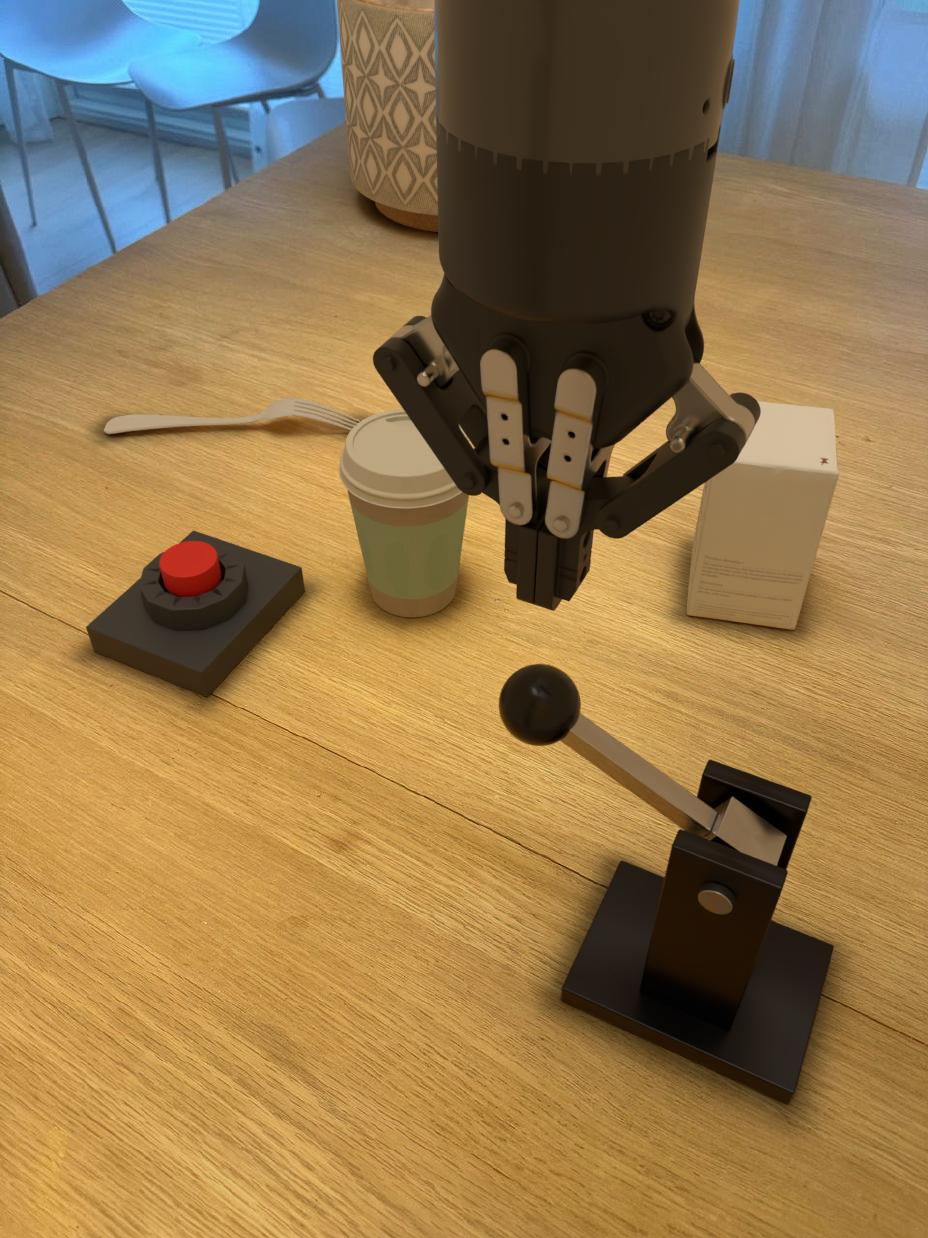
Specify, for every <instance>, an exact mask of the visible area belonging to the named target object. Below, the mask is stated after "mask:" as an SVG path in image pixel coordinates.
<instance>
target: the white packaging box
mask: <svg viewBox="0 0 928 1238" xmlns="http://www.w3.org/2000/svg"><path fill="white" fill-rule="evenodd" d="M757 402H758V403H759V406H760V409H761V413H760V417H759V419H758V421H757V423H756V425H755V427H754V429H753V431H752V433H751V435H750V437H749V439H748V440H747V442H746V444H745V446H744V447H743V449H742V451H741V452H740V454H739V456H738V458H737V460H736V461H735V462H734V463H733V464H732V465H730V466H729V467H727V468H726V469H724V470H723V471H721V472H720V473H718V474H717V475H715V476H714V477H712V478H711V479H709V480H708V481H706V482H705V483H704V484H703V489H702V494H701V498H700V504H699V509H698V514H697V519H696V525H695V530H694V534H693V541H692V548H691V549H692V550H691V560H690V567H689V576H688V577H689V578H688V585H687V586H688V588H687V599H686V615H687V616H691V617H692V616H693V617H699V618H707V619H715V620H722V621H727V622H737V623H744V624H750V625H757V626H764V627H770V628H777V629H783V630H795V629H796V627H797V625H798V621H799V618H800V613H801V610H802V606H803V603H804V600H805V596H806V592H807V588H808V585H809V582H810V578H811V575H812V572H813V567H814V564H815V561H816V557H817V554H818V550H819V547H820V543H821V540H822V536H823V532H824V529H825V526H826V522H827V519H828V516H829V511H830V508H831V506H832V505H831V504H832V501H833V498H834V495H835V491H836V487H837V483H838V480H839V477H840V471H839V470H840V469H839V461H838V460H839V459H838V449H837V438H836V423H835V422H836V421H835V410H834V409H833V408H828V407H817V406H809V405H808V406H807V405H798V404H790V403H789V404H788V403H779V402H768V401H760V400H757Z"/></svg>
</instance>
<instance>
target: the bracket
mask: <svg viewBox="0 0 928 1238" xmlns="http://www.w3.org/2000/svg"><path fill="white" fill-rule="evenodd" d="M696 797H698V798H699V799H700V800H702V801H703V802H705V803H706V804H707V805H709V806H710V807H711V808H713V809H715V808H716V807H718V806H719V805H721V804H722V803H723V802H725V801H726V800H728V799H729V798H730V797H734V798H736V799H737V800H738V801H740V802H741V803H742V804H744V805H745V806H747V807H748V808H749V809H751V810H752V811H754V812H755V813H756V814H758V815H759V816H760V817H762V818H763V819H765V820H766V821H767V822H769V823H770V824H772V825H773V826H774V827H776V828H777V829H779V830H780V831H781V832H783V833H784V834H785V835H787V837H786V840H785V843H784V846H783V849H782V852H781V855H780V858H779V861H778V864H777V866H776V865H773V864H771V863H768V862H765V861H763V860H760V859H757V858H755V857H752V856H750V855H747V854H744V853H742V852H739V851H737V850H734V849H731V848H729V847H726V846H724V845H721V844H718V843H716V842H713V841H711V840H708V839H705V838H703V837H700V836H698V835H695V834H692V833H690V832H687V831H685V830H683V829H682V828H679V829H678V830H677V832H676V835H675V837H674V839H673V841H672V845H671V848H670V852H669V857H668V860H667V865H666V870H665V874H664V876H662V875H660V874H657V873H655V872H652V871H650V870H648V869H645V868H642V867H640V866H637V865H635V864H633V863H630V862H628V861H626V860H623V859H621V860H620V861H619V862H618V865H617V867H616V869H615V871H614V873H613V876H612V877H611V879H610V882H609V885H608V887H607V889H606V890H605V893H604V895H603V897H602V899H601V901H600V904H599V906H598V908H597V910H596V912H595V915H594V917H593V919H592V921H591V923H590V926H589V928H588V929H587V931H586V934H585V936H584V939H583V941H582V943H581V945H580V947H579V949H578V952H577V954H576V956H575V957H574V960H573V962H572V965H571V966H570V969H569V971H568V973H567V975H566V978H565V979H564V981H563V984H562V986H561V990H560V991H561V992H560V1001H561V1002H564V1003H566V1004H568V1005H570V1006H572V1007H574V1008H576V1009H578V1010H581V1011H582V1012H585V1013H587V1014H589V1015H592V1016H594V1017H596V1018H598V1019H600V1020H602V1021H605V1022H607V1023H609V1024H611V1025H612V1026H613V1025H614V1026H616V1027H618V1028H619V1029H622V1030H624V1031H627V1032H629V1033H631V1034H633V1035H636V1036H638V1037H640V1038H642V1039H644V1040H646V1041H649V1042H650V1043H652V1044H655V1045H657V1046H660V1047H662V1048H664V1049H666V1050H668V1051H670V1052H673V1053H675V1054H677V1055H679V1056H681V1057H683V1058H686V1059H688V1060H690V1061H692V1062H694V1063H696V1064H699V1065H701V1066H704V1067H705V1068H708V1069H710V1070H712V1071H714V1072H716V1073H719V1074H721V1075H722V1076H725V1077H727V1078H730V1079H732V1080H734V1081H735V1082H738V1083H740V1084H743V1085H745V1086H747V1087H749V1088H751V1089H753V1090H755V1091H758V1092H760V1093H761V1094H764V1095H766V1096H769V1097H771V1098H773V1099H775V1100H777V1101H780V1102H782V1103H783V1104H786V1105H790V1104H791V1102H792V1100H793V1098H794V1096H795V1095H796V1090H797V1087H798V1083H799V1080H800V1077H801V1073H802V1068H803V1064H804V1061H805V1057H806V1053H807V1050H808V1046H809V1042H810V1039H811V1035H812V1031H813V1027H814V1023H815V1019H816V1016H817V1012H818V1008H819V1006H820V1005H819V1004H820V1001H821V997H822V993H823V990H824V986H825V983H826V980H827V979H826V978H827V974H828V972H829V968H830V965H831V959H832V957H833V952H834V948H835V945H833V944H831V943H829V942H827V941H825V940H821V939H819V938H816V937H814V936H811V935H809V934H807V933H805V932H802V931H800V930H797V929H794V928H792V927H790V926H787V925H784V924H782V923H779V922H777V921H774V920H772V919H773V916H774V914H775V912H776V908H777V905H778V903H779V900H780V897H781V895H782V892H783V889H784V886H785V884H786V880H787V877H788V873H789V871H788V870H787V869H788V868H789V867H788V866H789V864H790V861H791V858H792V856H793V853H794V851H795V847H796V845H797V842H798V838H799V836H800V833H801V831H802V828H803V826H804V824H805V820H806V817H807V815H808V812H809V808H810V805H811V802H812V799H813V797H812V795H811V794H808V793H805V792H803V791H800V790H797V789H794V788H791V787H788V786H786V785H783V784H780V783H777V782H775V781H772V780H769V779H767V778H764V777H761V776H758V775H755V774H753V773H750V772H747V771H745V770H741V769H738V768H735V767H733V766H730V765H727V764H724V763H722V762H719V761H716V760H714V759H708V760H707V762H706V764H705V766H704V769H703V772H702V774H701V778H700V781H699V786H698V790H697V793H696Z"/></svg>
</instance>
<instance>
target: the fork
mask: <svg viewBox="0 0 928 1238" xmlns="http://www.w3.org/2000/svg"><path fill="white" fill-rule="evenodd" d="M283 417H298V418H304V419H311V420H314V421H317V422H320V423H321V422H322V423H325V424H328V425H332V426H335V427H338V428H342V429H345V430H348V431H349V432H350V431H351V430H352V428H353V427H354V426H355V425H357V424H358V423H359V422H361V420H360V419H358V418H356V417H354V416H351V415H349V414H347V413H345V412H343V411H341V410H338V409H335V408H333V407H330V406H327V405H324V404H321V403H319V402H316V401H313V400H308V399H304V398H300V397H295V396H294V397H284V398H281V399H277V400H274V401H273V402H271V403H270V404H269V405H268V406H267V407H266V408H265V409H263V410H262V411H261V412H258V413H256V414H252V415H249V416H248V415H247V416H239V417H238V416H237V417H235V416H234V417H201V416H184V415H183V416H182V415H165V414H134V413H132V414H127V415H126V414H125V415H120V416H115V417H113V418H110V420H108V421H107V422H106V424H105V426H104V429H103V432H104V433H105V434H107V435H115V434H122V433H129V432H138V431H139V432H140V431H149V430H159V429H160V430H161V429H171V428H186V427H202V426H203V427H204V426H229V425H232V426H233V425H242V424H250V423H253V422H258V421H260V420H266V421H269V420H270V421H271V420H274V419H278V418H283Z"/></svg>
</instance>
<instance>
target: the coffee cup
mask: <svg viewBox="0 0 928 1238" xmlns="http://www.w3.org/2000/svg"><path fill="white" fill-rule="evenodd" d="M357 423H358V424H357V425H355V424H354V427H351V428H352V430H351V431H350V430H349V432H348V434H347V436H346V438H345V442H344V447H343V448H342V451H341V453H340V456H339V465H338V476H339V480H340V481H341V483H342V485H343V487H344V488H345V489H346V490H347V495H348V500H349V504H350V507H351V508H350V509H351V513H352V517H353V521H354V525H355V530H356V534H357V538H358V543H359V547H360V551H361V555H362V556H361V557H362V560H363V565H364V568H365V572H366V577H367V581H368V585H369V590H370V593H371V597H372V600H373V601H374V603H375V604H376V605H377V606H378V607H379V608H380V609H382V610H383V611H384V612H386V613H389V614H391V615H393V616H398V617H403V618H421V617H427V616H430V615H433V614H435V613H438V612H440V611H441V610H443V609H445V608H446V607H447V606H448V605H449V604H450V603H452V601H453V599H454V598H455V595H456V591H457V584H458V578H459V572H460V564H461V556H462V551H463V542H464V535H465V527H466V520H467V514H468V513H467V512H468V506H469V500H470V499H469V498H470V495H467V494H465V493H463V492H462V491H460V490H459V489H458V487H457V486H456V485H455V483H454V482H453V480H452V479H451V477H450V476H449V474H448V473H447V472H446V470H445V469H444V467H443V466H442V464H441V463H440V461H439V460H438V459H437V457H436V456H435V454H434V453H433V451H432V450H431V448H430V447H429V446H428V444H427V443H426V441H425V440H424V438H423V437H422V435H421V434H420V433H419V431H418V430H417V428H416V427H415V425H414V424H413V422H412V421H411V420H410V418H409V417H408V415H407V414H406V412H405V411H404V409H403V408H396V409H391V410H385V411H382V412H378V413H375V414H373V415H369V416H368V417H366V418H363V419H362V420H360V422H357ZM459 427H460V425H459ZM460 429H461V431H462V432H463V434H464V435H465V437H466V438H467V440H468V441H469V442H470V440H469V439H468V437H467V436H466V434H465V433H464V431H463V430H462V428H461V427H460Z"/></svg>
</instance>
